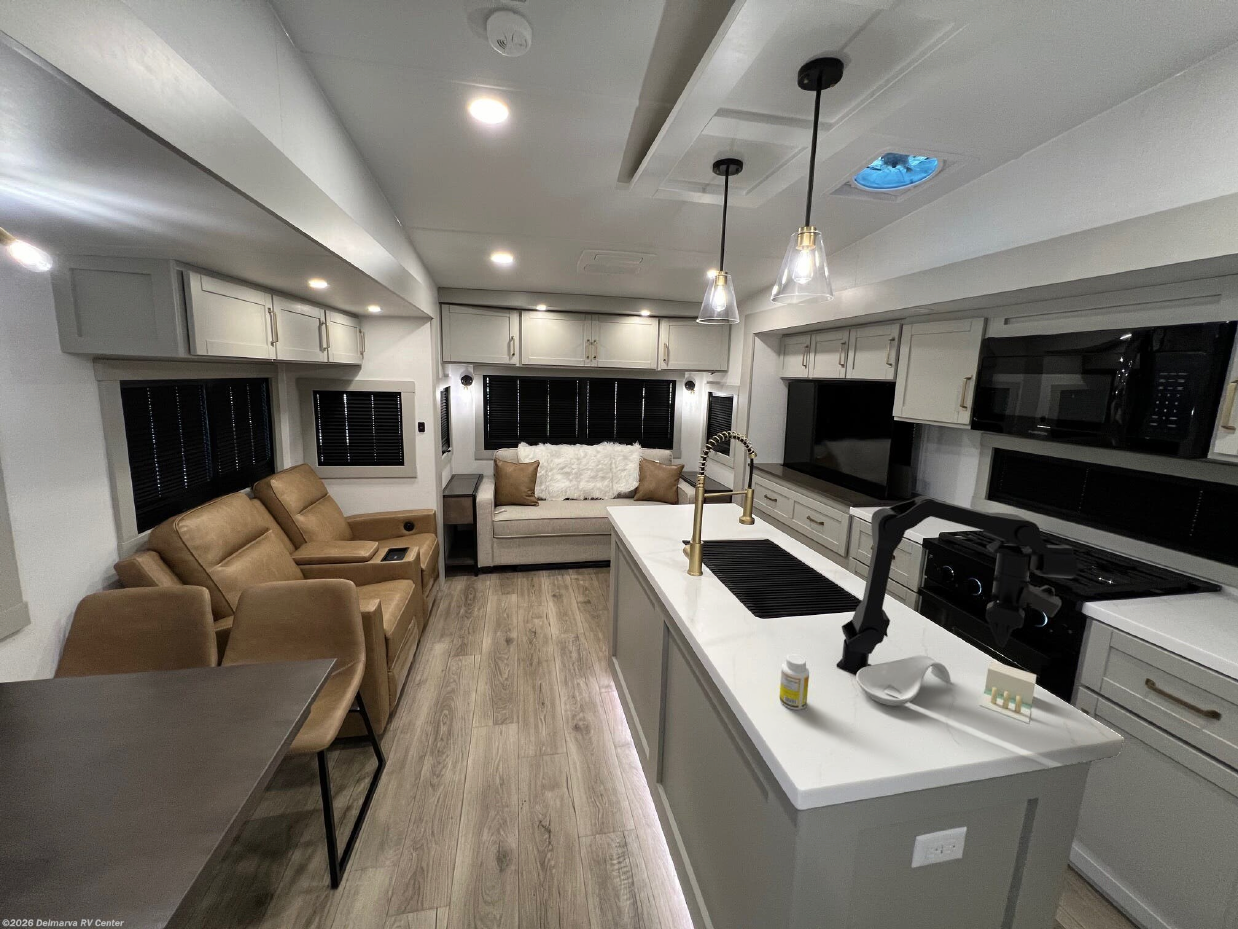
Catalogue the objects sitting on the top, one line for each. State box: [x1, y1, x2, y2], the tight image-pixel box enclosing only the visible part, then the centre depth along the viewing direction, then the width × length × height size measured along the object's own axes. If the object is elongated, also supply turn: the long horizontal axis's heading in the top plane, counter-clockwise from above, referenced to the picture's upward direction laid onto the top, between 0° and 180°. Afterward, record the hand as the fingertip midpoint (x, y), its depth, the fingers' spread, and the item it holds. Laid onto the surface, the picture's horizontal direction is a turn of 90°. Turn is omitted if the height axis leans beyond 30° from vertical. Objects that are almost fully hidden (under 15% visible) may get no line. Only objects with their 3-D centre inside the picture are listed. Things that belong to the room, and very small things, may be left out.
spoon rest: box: [855, 654, 952, 707], centre depth 108 cm, size 24×12×7 cm, turn 111°
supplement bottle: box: [779, 653, 810, 711], centre depth 103 cm, size 6×6×10 cm
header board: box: [979, 687, 1032, 725], centre depth 104 cm, size 14×8×5 cm, turn 137°
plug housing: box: [984, 660, 1037, 706], centre depth 106 cm, size 4×8×5 cm, turn 47°
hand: (1002, 638), depth 108 cm, fingers open, 9 cm apart
